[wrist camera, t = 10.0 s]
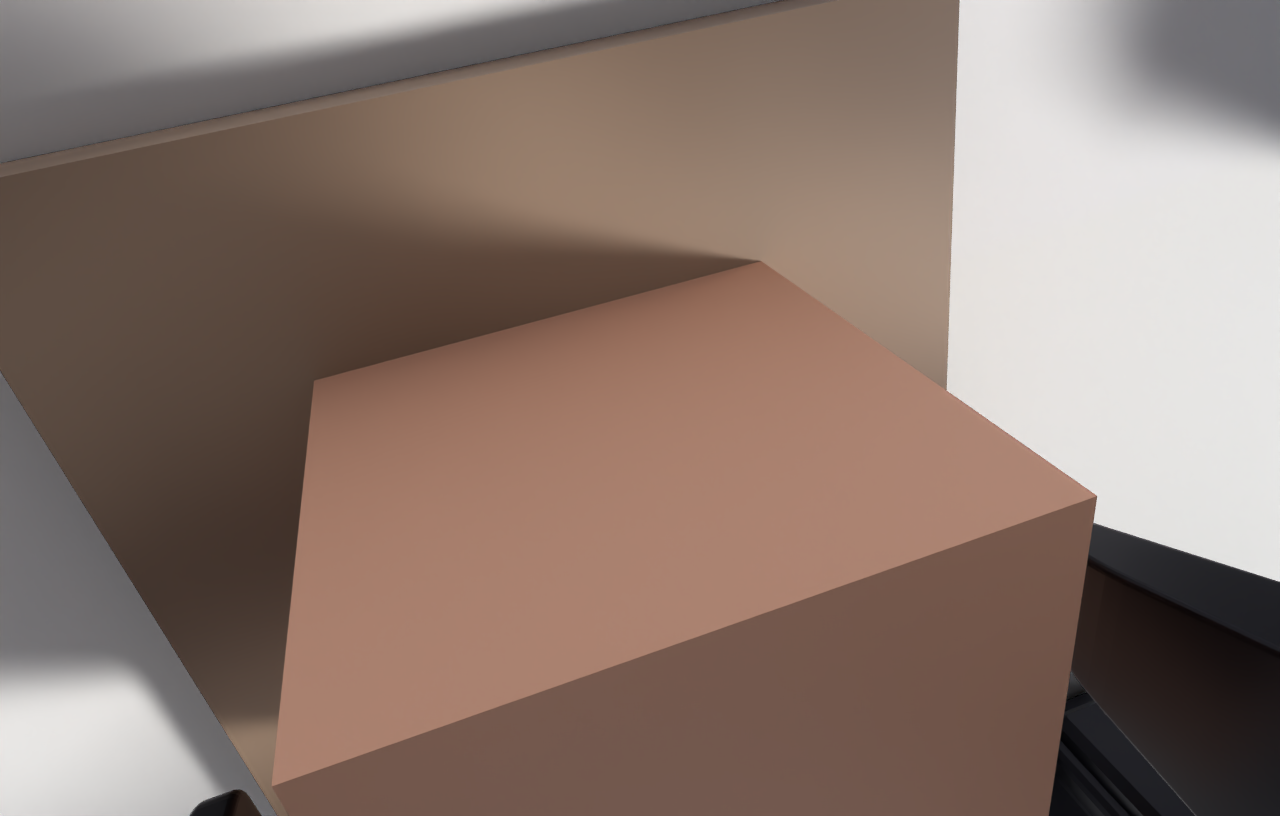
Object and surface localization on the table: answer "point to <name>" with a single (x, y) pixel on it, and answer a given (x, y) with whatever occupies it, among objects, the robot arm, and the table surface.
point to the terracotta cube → (674, 576)
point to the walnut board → (441, 265)
